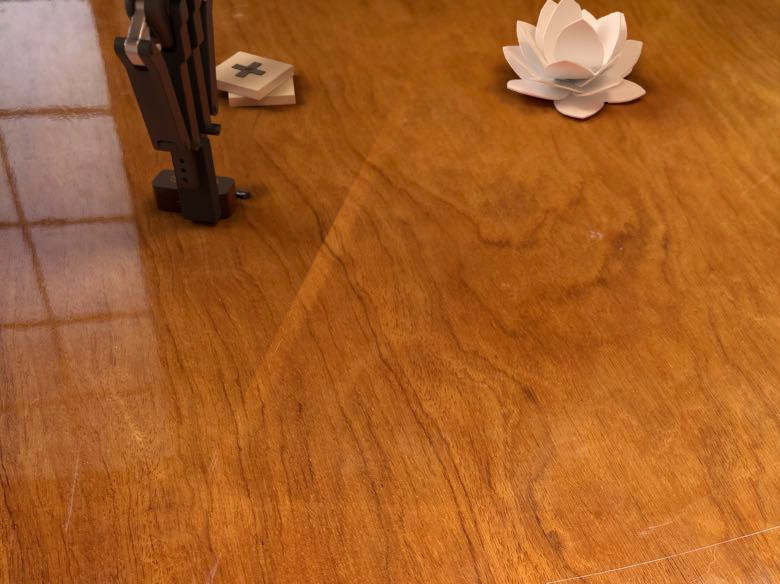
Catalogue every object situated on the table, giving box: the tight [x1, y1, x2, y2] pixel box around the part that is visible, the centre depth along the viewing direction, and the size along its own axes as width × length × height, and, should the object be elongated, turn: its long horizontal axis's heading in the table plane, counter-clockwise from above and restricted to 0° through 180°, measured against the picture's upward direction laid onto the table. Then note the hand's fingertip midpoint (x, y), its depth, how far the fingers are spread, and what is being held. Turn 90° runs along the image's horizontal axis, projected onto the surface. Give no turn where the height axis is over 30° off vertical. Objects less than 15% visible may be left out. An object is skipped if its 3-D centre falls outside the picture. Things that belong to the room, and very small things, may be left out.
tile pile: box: [216, 51, 297, 108], centre depth 110 cm, size 8×8×3 cm
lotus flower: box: [502, 0, 647, 119], centre depth 113 cm, size 14×15×9 cm
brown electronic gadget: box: [151, 168, 254, 220], centre depth 96 cm, size 5×7×3 cm, turn 81°
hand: (202, 216), depth 94 cm, fingers closed
